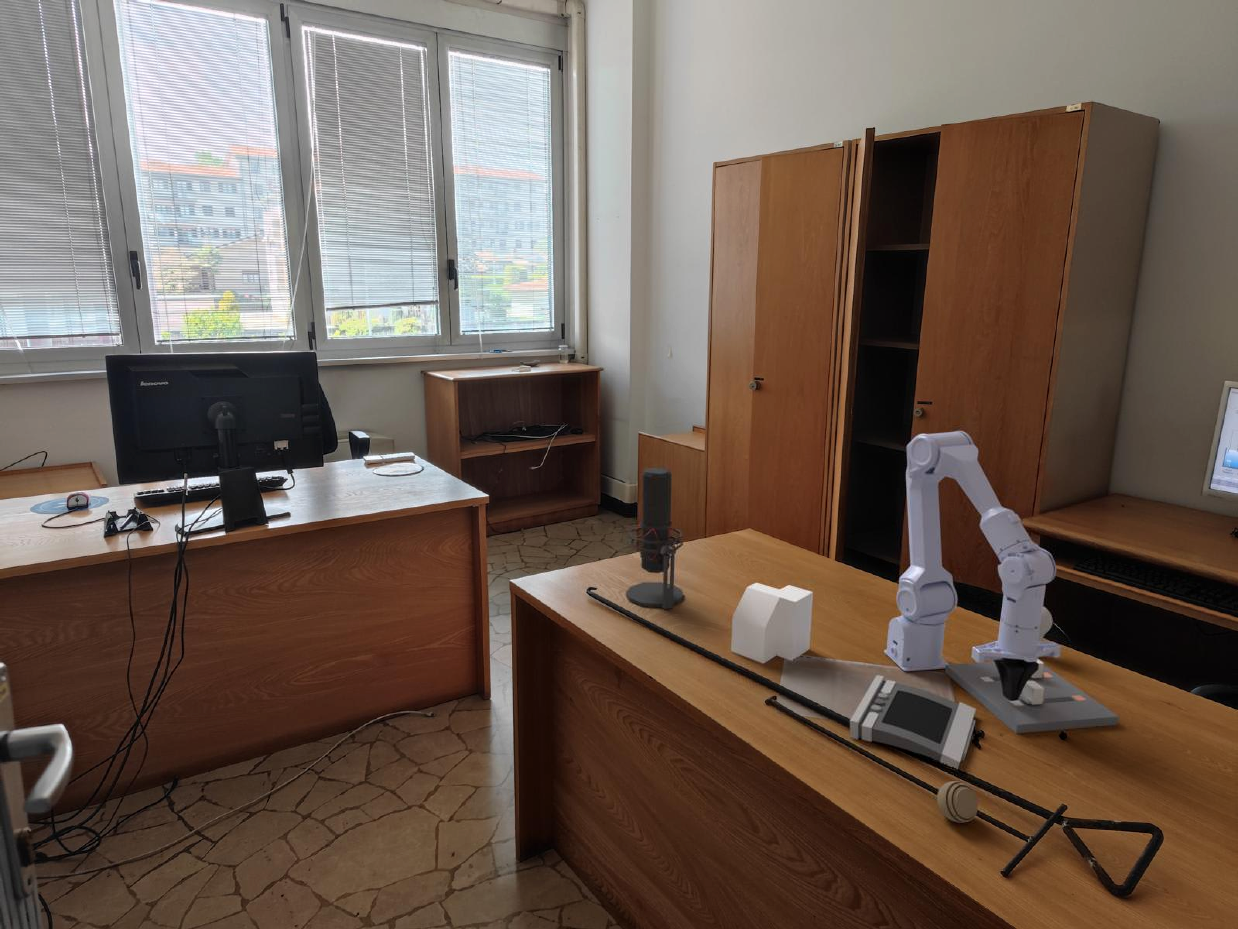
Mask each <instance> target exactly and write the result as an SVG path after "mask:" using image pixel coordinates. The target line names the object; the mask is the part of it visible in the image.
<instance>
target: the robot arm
mask: <svg viewBox="0 0 1238 929" xmlns="http://www.w3.org/2000/svg"><path fill="white" fill-rule="evenodd" d="M978 457H979V449H978V447H977V446H976V445H975V444H974V442H973V439H972V437H971V436H970V434H968V433H967V432H965V431H963V430H956V431H950V432H937V433H920V434H917V435H916V436H914V438H912V440H911V441H910V442H909V443H908V444H907V445H906V461H907V464H906V465H907V466H906V470H905V482H906V484H905V485H906V504H907V506H906V507H907V522H908V543H909V544H908V546H909V559H910V560H909V561H910V562H909V563H910V566H909V567H908V568H907V570H905V572H904V573H902V575H901V576H900V577H899V579H898V584H899V585H898V586H899V587H898V590H897V592H896V604H897V608H898V610H899V612H900V614H901V615H900V616H897V617H892V618H891V619H890V621H889V622H888V629H887V640H886V641H887V642H886V649H884V651H883V652H884V654H885V655H886V656H888V657H889V658H890V660H892V661H893V662H894V663H895V664H896V665H897V666H898V667H899V668H900V669H901V670H903V671H904V672H913V671H914V672H915V671H916V672H917V671H927V670H928V671H929V670H939V669H940V670H942V669H944V670H945V668H946V665H951V664H950V663H949V662H948V661H946V660H945V659H944V658H943V657H942V656H943V648H944V640H945V638H944V637H945V630H946V621H947V619H949V617H950V613H951V612H953V611H955V609H956V607H957V605H958V594H957V590H956V588H955V586H954V582H953V575H952V574H951V573H950V571H947V569H945V568H944V567H943V562H942V561H943V558H942V541H941V539H942V538H941V517H940V516H941V515H940V499H939V498H940V497H939V483H940V482H941V481H942V480H943V479H944V478H945V477H946V478H949V479H950V478H951V479H953V480H955V481H956V482H957V483H958V485H959V486H960V488H961V489H962V490H963V492H964V493H965V494H966V496H967V497H968V499H969V500H970V502H971V503H972V505H973V506H974V507H975V509H976V510H977V512H978V513H979V514H980V516H981V518H980V521H979V528H980V530H981V531H982V533H983V534H984V536H985V538H986V539H987V542H988V543H989V545H990V546H991V548H992V550H993V551H994V553H995V554H996V556H997V558H998V560H999V562H1000V564H998V565H997V572H998V576H999V578H1000V579H1001V583H1002V585H1001V586H1002V587H1001V591H1002V594H1003V596H1002V605H1001V606H1002V607H1001V612H1000V620H999V629H998V636H997V640H995V641H992V642H989V643H984V644H982V645H978V646H972V650H971V656H970V657H971V658H972V659H973V660H974V661H975V662H976V663H983V662H985V661H993V662H995V665H996V667H997V669H998V672H999V675H1000V679H1001V684H1002V691H1003V696H1005V697H1006V698H1007V699H1008V700H1010V701H1017V700H1018V698H1019V696H1020V694H1021V692H1022V690H1023V688H1024V686H1025V684H1026V683H1027V681H1028V680H1029V679H1030V677H1031V676H1032V675H1033V674H1034V673H1035V672H1036V671H1037V670H1038V668H1039V664H1038V663H1037V662H1036V661H1037V660H1038V659H1039V658H1041V657H1052V658H1055V659H1056V658H1057V659H1059V658H1061V650H1062V647H1061V645H1059V644H1057V643H1055V642H1054V641H1042V640H1041V641H1038V637H1039V630H1040V624H1041V616H1042V609H1043V607H1044V601H1045V600H1044V599H1045V594H1046V584H1049V583H1050V582H1053V580H1054V579H1055V578H1056V574H1057V566H1056V562H1055V560H1054V557H1053V555H1052V553H1051V552H1049V551H1047V550H1046V549H1044V548H1042V547H1040V546H1039V545H1038V543H1035V542H1034V541H1033V540H1032V538H1031V536H1030V535H1029V533H1028V532H1027V530H1026V529H1025V527H1024V525H1023V524H1022V523H1021V521H1022V519H1021V518H1020V517H1019V514H1017V513H1015V512H1014V510H1012V509H1010V508H1005V507H1004V506H1002V505H1001V503H1000V501H999V499H998V497H997V494H996V493H995V491H994V490H993V488H992V486H991V484H990V482H989V480H988V477H987V476H986V474H985V473H984V471H983V468H982V467H981V464H980V462H979V461H978Z"/></svg>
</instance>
